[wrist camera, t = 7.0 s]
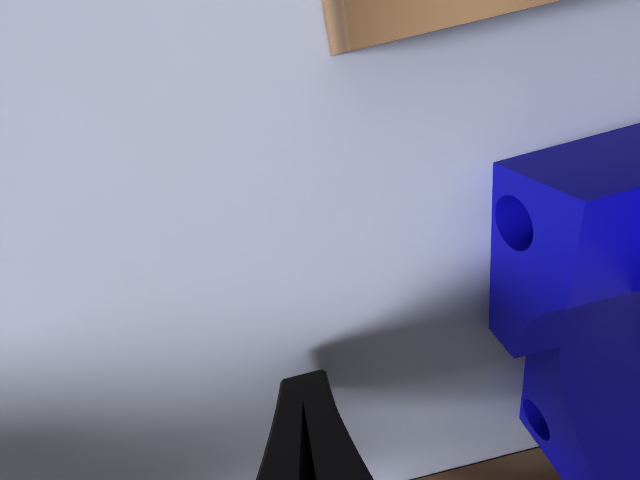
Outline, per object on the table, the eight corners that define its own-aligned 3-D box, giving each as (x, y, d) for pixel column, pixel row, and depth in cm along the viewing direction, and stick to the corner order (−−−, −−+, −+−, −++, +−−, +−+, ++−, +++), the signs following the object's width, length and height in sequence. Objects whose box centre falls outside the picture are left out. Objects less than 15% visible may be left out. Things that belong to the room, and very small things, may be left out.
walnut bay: (405, 492, 16) (421, 545, 14) (321, -2, 6) (339, -29, 5) (601, 441, 16) (641, 487, 14) (808, -119, 6) (1009, -190, 5)
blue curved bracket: (489, 161, 9) (833, 306, 3) (654, 116, 9) (1259, 192, 3) (484, 423, 14) (606, 629, 9) (583, 397, 14) (762, 588, 9)
